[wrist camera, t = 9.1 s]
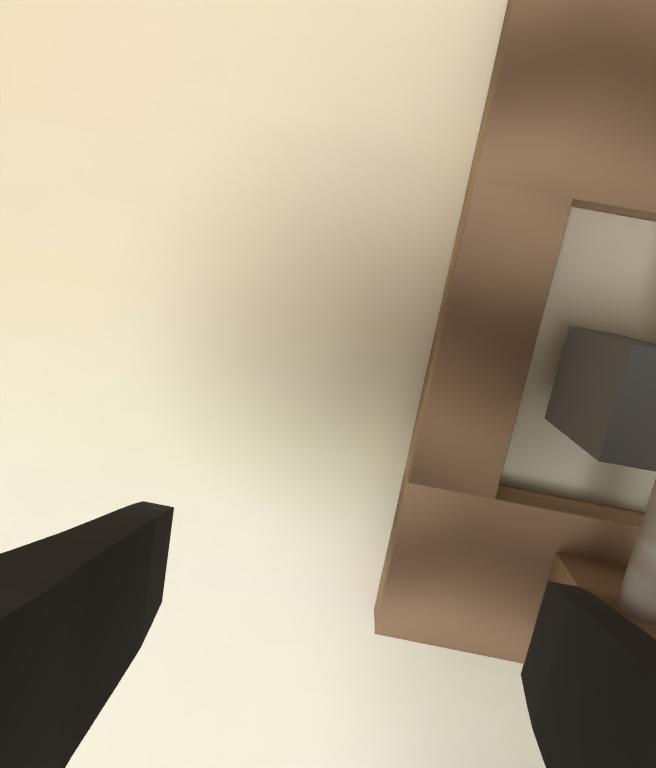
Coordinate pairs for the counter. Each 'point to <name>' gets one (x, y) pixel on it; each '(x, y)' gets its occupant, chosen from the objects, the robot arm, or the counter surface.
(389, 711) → the counter surface
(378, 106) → the counter surface
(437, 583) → the brown wooden frame
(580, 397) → the clip
